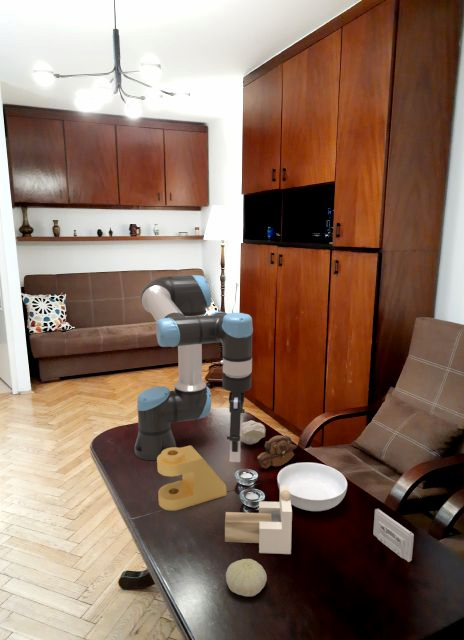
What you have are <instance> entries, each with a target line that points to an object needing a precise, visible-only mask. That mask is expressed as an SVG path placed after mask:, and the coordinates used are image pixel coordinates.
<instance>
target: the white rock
mask: <svg viewBox="0 0 464 640" xmlns="http://www.w3.org/2000/svg"><path fill="white" fill-rule="evenodd" d="M266 431H267V429H266V427H265V425H264V424H262V423H261V422H257V421H255V420H252V419H251V420H248V421H242V436H240V437H241V441H240V442H242V443H244V444H246V445H253V444H256V443H258V442H259V441H260V440H261V439H262V438H265V437H266V433H267V432H266Z"/></svg>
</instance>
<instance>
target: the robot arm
mask: <svg viewBox="0 0 464 640" xmlns="http://www.w3.org/2000/svg"><path fill="white" fill-rule="evenodd" d="M140 303H141V306H142V308H143V309H144V310H145V311H146V312H147V313H149V314H150V315H151V316H153V318H154V320H155V322H156V324H155V334H156V340H157V344H158V345H159V347H161V348H168V347H171V348H175V347H177V353H178V355H177V357H178V358H177V359H178V361H177V362H178V365H177V366H178V367H177V368H178V381H177V382H175V384H174V390H170V388H169V387H166V386H160V385H159V386H154V387H149V388H146V389H144V390H142V391H141V392H140V393H139V395H138V396H137V399H136V400H137V403H136V410H137V423H138V425H137V427H138V434H137V437H136V440H135V444H134V454H135V456H136V457H137V458H139V459H141V460H144V461H157V457H158V456H159V455H160V454H161V452H162V451H163V450H165V449H167V448H171V447H177V443H176V440H175V437H174V435H173V432H172V428H171V427H172V426H171V425H172V423H180V422H186V421H196V420H199V419H203V418H207V416H208V415H209V414H210V413H211V412H210V411H211V409H212V393H211V392H212V391H211V390H210V388H209V386H207V384H206V382H205V381H204V380H203V358H202V356H203V353H202V352H203V348H202V345H204V344H213V343H220V344H222V360H220V362H219V363H220V364H221V365H222V388H223V390H225V391H228V392H229V394H228V403H229V405H228V406H229V408H228V411H229V413H230V417H229V420H230V421H229V436H226V440H229V461H228V462H230V463H241V442H242V441H241V437H240V436H242V423H243V414H245V408H244V402H245V392H247V391H249V390H250V389H251V387H252V372H253V371H252V370H253V355H252V354H253V353H252V352H253V333H254V328H253V327H254V326H253V318H252V316H251V315H250V314H248V313H244V312H230V313H227V312H224V311H215V312H213V313H211V314H209V315H206V314H207V313H206V312H207V311H206V310H207V309H208V308H210V307H211V305H212V292H211V287H210V285H209V282H208V280H207V278H206V277H205V276H203V275H200V274H199V275H198V274H197V275H196V274H195V275H194V274H188V275H187V274H186V275H172V276H165V275H164V276H160V277H156V278H153V279H152V280H150V281H148V282H147V283H146V285H144V287H143V288H142V289H141V293H140Z"/></svg>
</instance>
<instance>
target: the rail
mask: <svg viewBox="0 0 464 640" xmlns="http://www.w3.org/2000/svg"><path fill="white" fill-rule="evenodd" d="M224 518H225V519H224V542H225V543H226V542H227V543H244V544H245V543H246V544H247V543H249V544H253V543H254V544H259V521H262V522H280V521H279V512H271V514H269V513H259V512H239V511H238V512H236V511H235V512H234V511H225V517H224Z"/></svg>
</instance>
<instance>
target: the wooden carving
mask: <svg viewBox="0 0 464 640" xmlns="http://www.w3.org/2000/svg"><path fill="white" fill-rule="evenodd" d="M297 448H298V445H295V444H292V438H291V437H290V436H288V435H275V436H272V437H271V438H269V440H268V441H267V440H266V441H265V443H264V449H265V451H264V452H261V453H260V454H258V456H257V457H256V458H257V461H258V462H259V465H260V467H261V468H264V469H268V468H269V467H270V466H273V467H280V466H282V465H285V464H287V463H288V462H289V461H290V460H291V459H293V457H294V456H295V453H294V450H296V449H297Z"/></svg>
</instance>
